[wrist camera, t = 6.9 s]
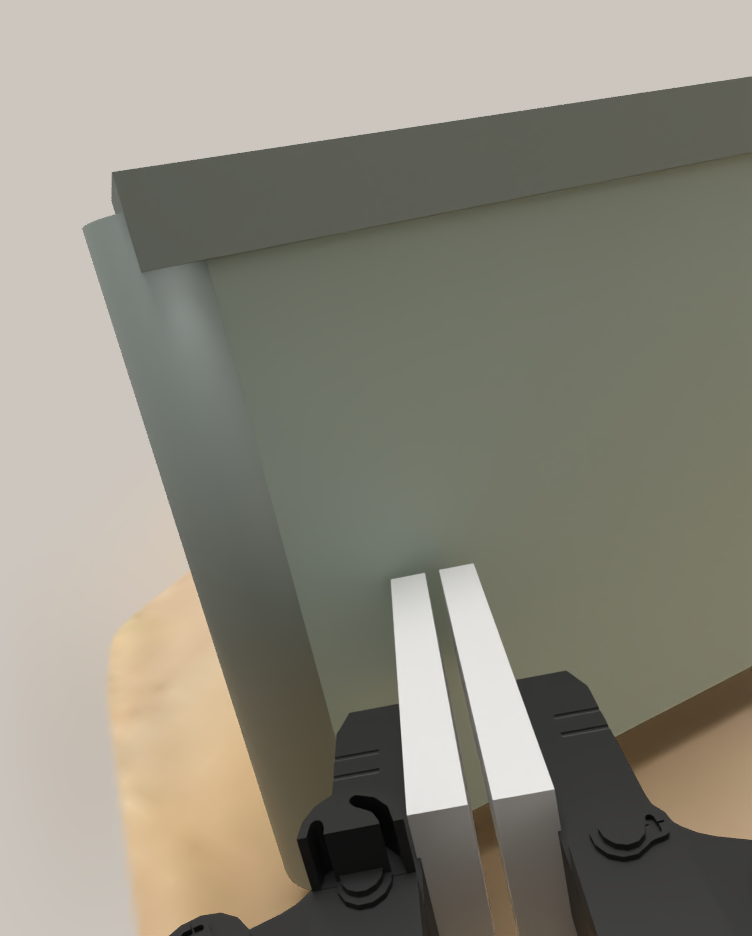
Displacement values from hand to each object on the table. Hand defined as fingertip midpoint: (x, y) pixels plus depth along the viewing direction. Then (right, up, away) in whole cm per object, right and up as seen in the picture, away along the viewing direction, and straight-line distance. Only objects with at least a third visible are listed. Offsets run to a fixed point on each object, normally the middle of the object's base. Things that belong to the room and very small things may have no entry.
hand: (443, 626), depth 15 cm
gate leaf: (+5, -3, +5) cm, 8 cm away
